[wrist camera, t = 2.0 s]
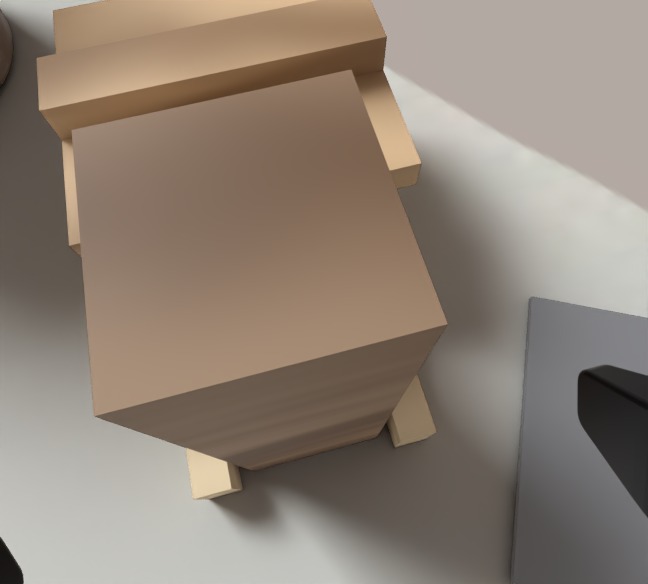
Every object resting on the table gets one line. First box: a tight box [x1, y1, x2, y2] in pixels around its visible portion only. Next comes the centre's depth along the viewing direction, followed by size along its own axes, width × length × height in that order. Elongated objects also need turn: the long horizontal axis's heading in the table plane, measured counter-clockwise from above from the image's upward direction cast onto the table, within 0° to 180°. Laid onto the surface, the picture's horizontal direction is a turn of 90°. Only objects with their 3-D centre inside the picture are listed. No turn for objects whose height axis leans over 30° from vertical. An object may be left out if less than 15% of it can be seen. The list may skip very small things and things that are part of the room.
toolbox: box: [37, 0, 437, 499], centre depth 17 cm, size 16×10×8 cm, turn 15°
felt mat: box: [510, 297, 648, 584], centre depth 17 cm, size 10×8×1 cm
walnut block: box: [72, 70, 448, 471], centre depth 13 cm, size 4×4×12 cm
